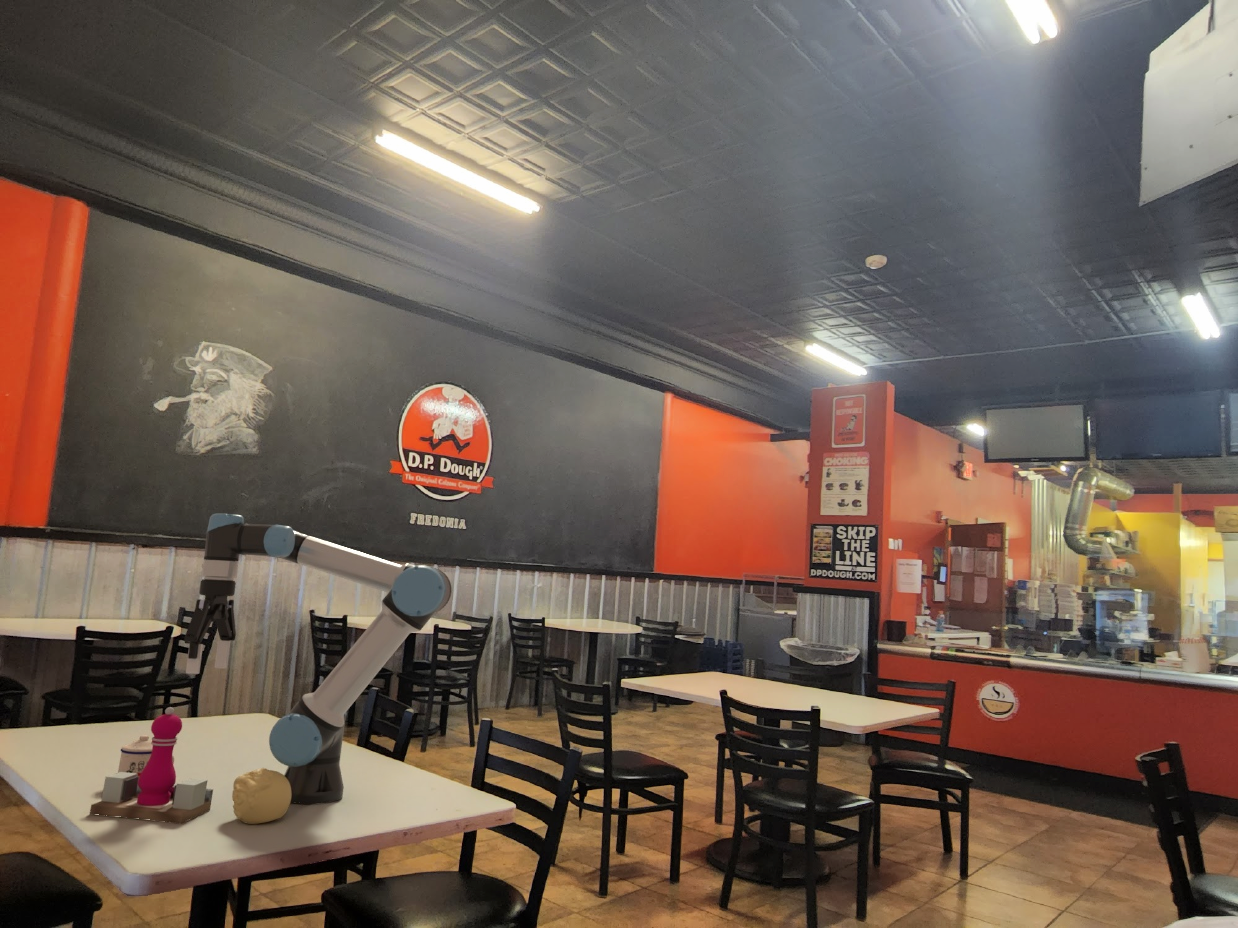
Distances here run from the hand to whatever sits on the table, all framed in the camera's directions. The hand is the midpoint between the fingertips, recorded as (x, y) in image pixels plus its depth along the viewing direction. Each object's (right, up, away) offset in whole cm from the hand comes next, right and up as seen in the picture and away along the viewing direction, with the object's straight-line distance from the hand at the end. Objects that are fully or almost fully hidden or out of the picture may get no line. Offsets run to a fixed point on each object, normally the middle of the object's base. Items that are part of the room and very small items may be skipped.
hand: (207, 670), depth 187 cm
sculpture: (+17, -30, -12) cm, 36 cm away
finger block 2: (+2, -26, -13) cm, 29 cm away
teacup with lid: (-20, -30, +8) cm, 37 cm away
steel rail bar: (-5, -26, -7) cm, 28 cm away
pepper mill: (-5, -26, -12) cm, 29 cm away
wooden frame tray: (-6, -27, -13) cm, 31 cm away
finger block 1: (-13, -25, -12) cm, 31 cm away
